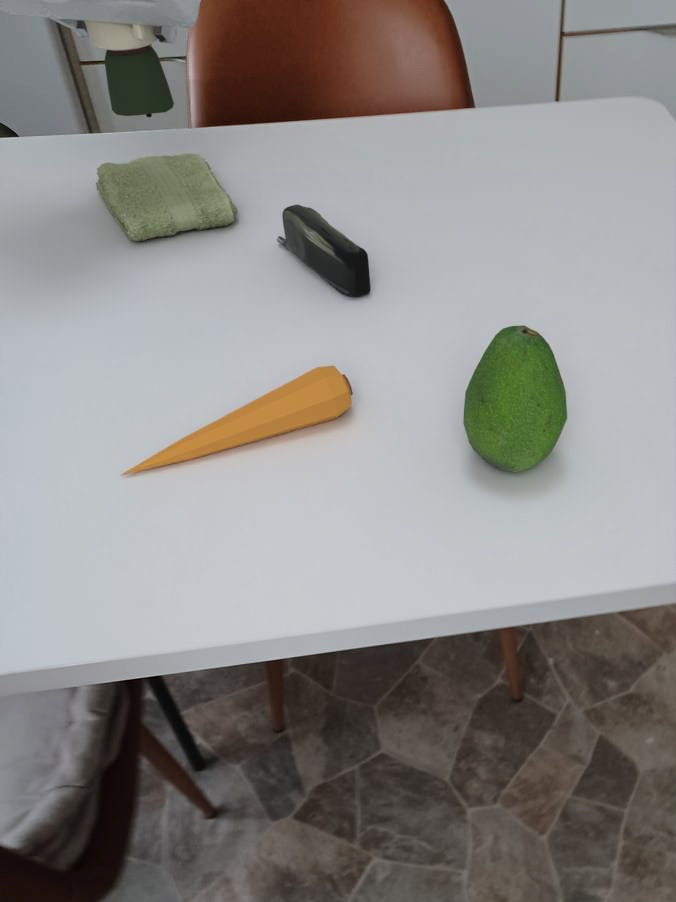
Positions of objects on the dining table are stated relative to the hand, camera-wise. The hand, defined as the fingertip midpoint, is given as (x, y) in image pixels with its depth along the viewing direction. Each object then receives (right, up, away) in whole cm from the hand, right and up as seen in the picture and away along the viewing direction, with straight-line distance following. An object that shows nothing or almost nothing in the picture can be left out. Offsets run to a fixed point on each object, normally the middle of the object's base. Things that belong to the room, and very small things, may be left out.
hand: (128, 33), depth 96 cm
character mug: (0, -5, +5) cm, 7 cm away
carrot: (+15, -44, -16) cm, 49 cm away
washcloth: (0, -12, +13) cm, 17 cm away
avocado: (+38, -46, -18) cm, 62 cm away
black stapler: (+19, -23, +3) cm, 30 cm away
